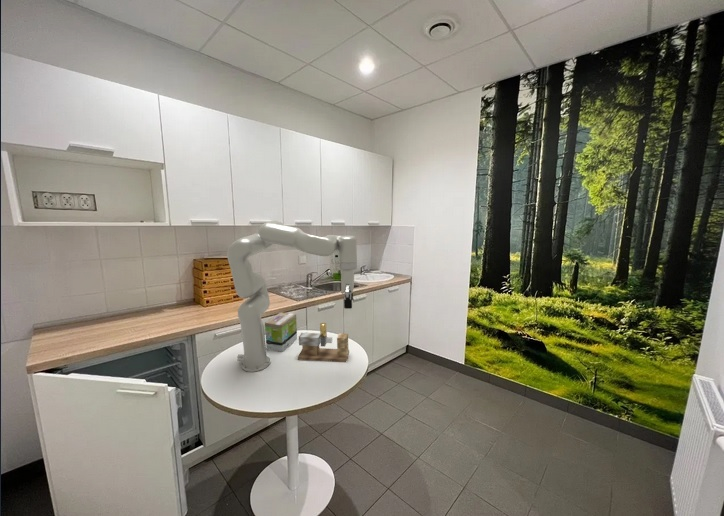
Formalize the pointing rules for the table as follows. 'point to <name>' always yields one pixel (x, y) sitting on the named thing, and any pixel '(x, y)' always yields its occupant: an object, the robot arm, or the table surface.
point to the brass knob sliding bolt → (324, 335)
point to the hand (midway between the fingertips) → (348, 304)
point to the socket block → (342, 345)
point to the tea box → (281, 331)
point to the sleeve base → (317, 349)
